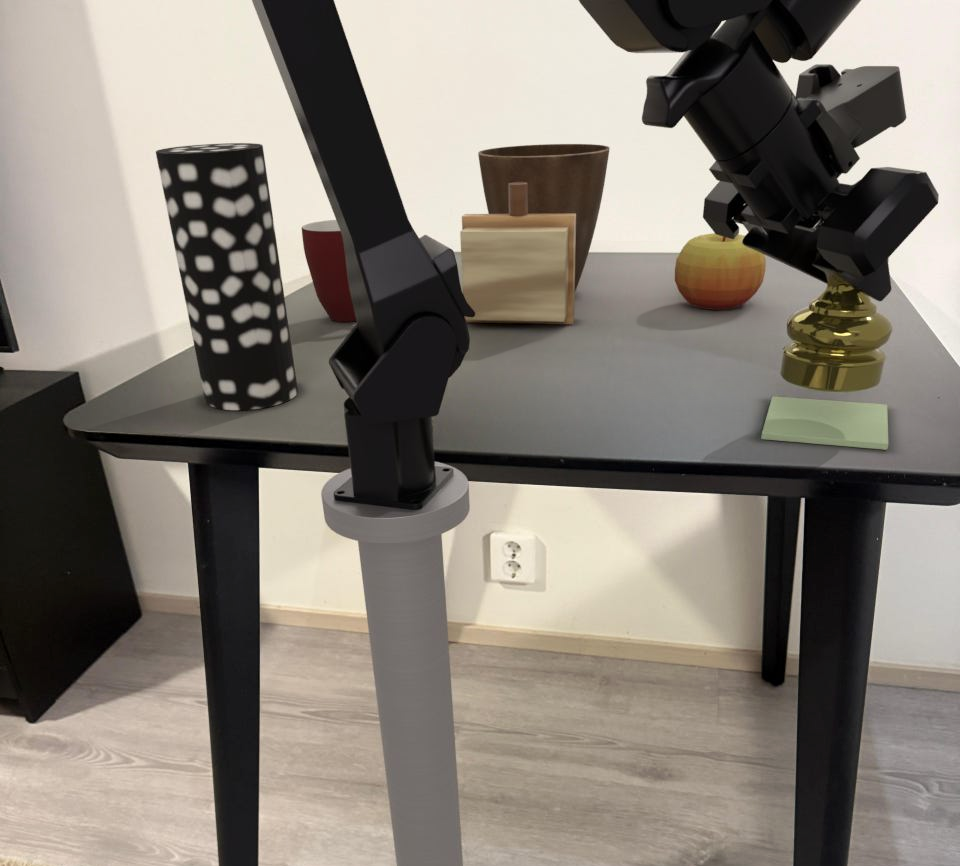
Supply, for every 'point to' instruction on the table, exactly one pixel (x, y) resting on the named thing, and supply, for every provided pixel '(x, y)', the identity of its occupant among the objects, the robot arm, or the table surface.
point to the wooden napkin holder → (519, 264)
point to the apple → (718, 271)
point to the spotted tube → (230, 272)
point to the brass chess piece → (836, 341)
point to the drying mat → (827, 422)
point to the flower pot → (550, 184)
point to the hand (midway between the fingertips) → (862, 288)
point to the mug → (328, 268)
